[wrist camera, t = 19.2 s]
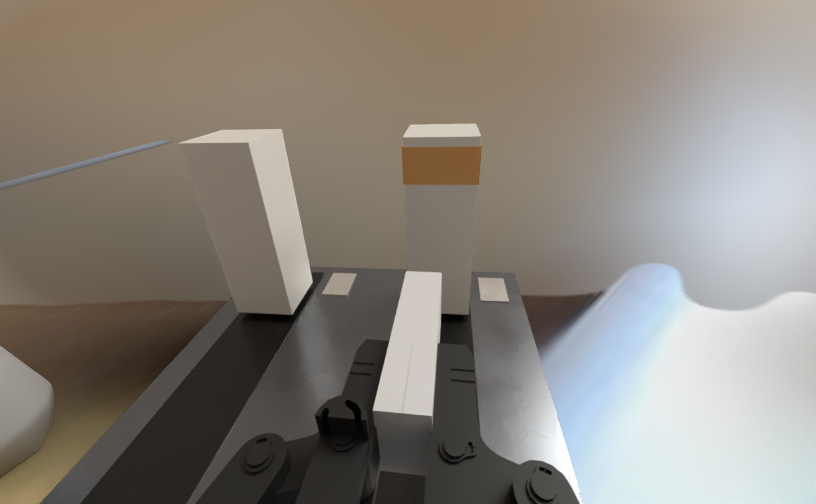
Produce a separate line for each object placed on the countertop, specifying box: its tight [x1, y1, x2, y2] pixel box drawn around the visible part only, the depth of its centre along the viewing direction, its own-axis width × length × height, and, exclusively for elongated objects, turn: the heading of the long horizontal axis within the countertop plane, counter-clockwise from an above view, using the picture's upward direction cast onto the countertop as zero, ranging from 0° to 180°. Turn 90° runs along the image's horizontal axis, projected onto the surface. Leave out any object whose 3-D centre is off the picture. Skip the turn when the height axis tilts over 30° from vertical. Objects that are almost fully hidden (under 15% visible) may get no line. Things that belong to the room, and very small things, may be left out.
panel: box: [40, 267, 583, 504], centre depth 20 cm, size 22×22×2 cm
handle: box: [402, 124, 481, 315], centre depth 22 cm, size 4×4×12 cm
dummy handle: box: [178, 129, 313, 315], centre depth 22 cm, size 4×4×12 cm
